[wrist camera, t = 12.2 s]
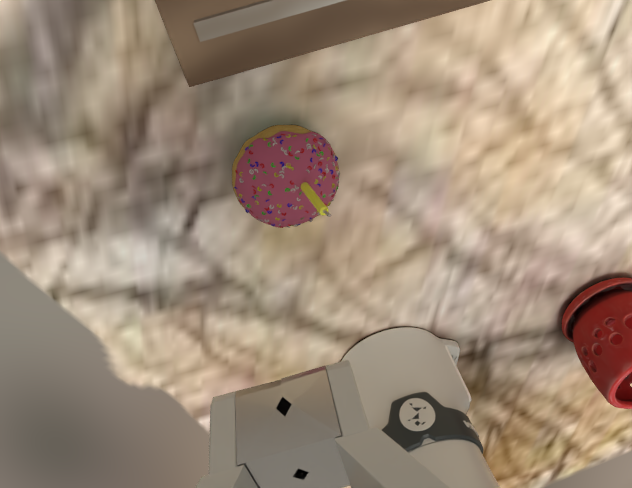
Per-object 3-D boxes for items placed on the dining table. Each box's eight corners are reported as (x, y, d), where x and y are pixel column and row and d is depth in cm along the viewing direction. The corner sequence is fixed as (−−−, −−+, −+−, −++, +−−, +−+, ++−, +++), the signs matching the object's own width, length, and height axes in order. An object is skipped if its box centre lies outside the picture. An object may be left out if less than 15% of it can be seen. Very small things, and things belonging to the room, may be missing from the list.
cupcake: (300, 88, 36) (332, 146, 26) (343, 169, 41) (383, 244, 31) (210, 140, 37) (209, 214, 27) (263, 213, 42) (277, 298, 32)
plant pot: (556, 283, 55) (627, 357, 46) (653, 257, 56) (743, 325, 46) (542, 349, 63) (600, 424, 54) (627, 326, 64) (700, 396, 54)
